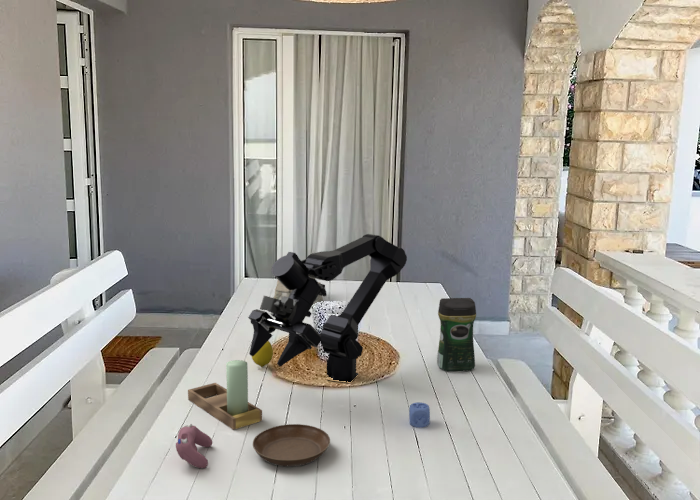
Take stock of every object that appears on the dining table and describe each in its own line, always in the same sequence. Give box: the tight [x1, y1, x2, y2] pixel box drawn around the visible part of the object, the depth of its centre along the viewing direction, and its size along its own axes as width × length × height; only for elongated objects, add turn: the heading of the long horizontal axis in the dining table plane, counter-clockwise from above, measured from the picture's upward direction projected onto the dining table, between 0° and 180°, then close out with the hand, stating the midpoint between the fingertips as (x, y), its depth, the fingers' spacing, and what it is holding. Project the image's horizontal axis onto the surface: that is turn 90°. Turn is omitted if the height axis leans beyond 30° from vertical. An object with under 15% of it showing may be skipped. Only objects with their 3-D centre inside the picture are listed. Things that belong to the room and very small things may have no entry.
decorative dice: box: [408, 402, 431, 429], centre depth 145 cm, size 4×4×4 cm
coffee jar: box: [436, 297, 477, 373], centre depth 176 cm, size 10×8×19 cm
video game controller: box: [175, 423, 213, 469], centre depth 129 cm, size 10×5×7 cm, turn 6°
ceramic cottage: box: [272, 277, 324, 304], centre depth 240 cm, size 16×16×15 cm
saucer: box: [252, 423, 331, 468], centre depth 132 cm, size 15×15×3 cm
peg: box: [225, 359, 249, 416], centre depth 145 cm, size 4×4×12 cm
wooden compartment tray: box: [187, 382, 263, 431], centre depth 151 cm, size 20×7×2 cm, turn 40°
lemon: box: [251, 340, 274, 368], centre depth 177 cm, size 6×6×8 cm
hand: (264, 360), depth 150 cm, fingers open, 9 cm apart
